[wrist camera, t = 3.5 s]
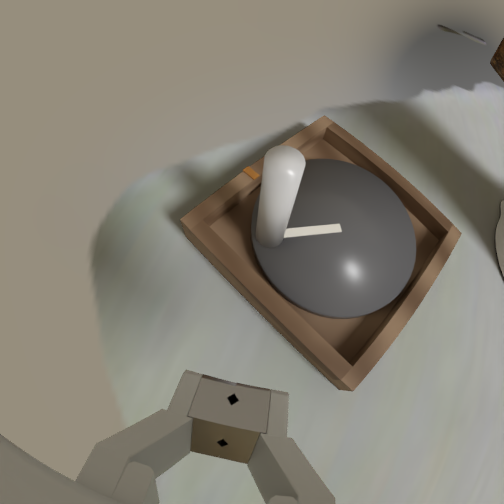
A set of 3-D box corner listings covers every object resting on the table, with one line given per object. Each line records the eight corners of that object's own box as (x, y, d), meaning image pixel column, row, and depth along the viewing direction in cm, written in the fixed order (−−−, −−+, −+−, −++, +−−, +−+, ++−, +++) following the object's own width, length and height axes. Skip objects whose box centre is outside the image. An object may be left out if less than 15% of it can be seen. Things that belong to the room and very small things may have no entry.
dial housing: (318, 135, 35) (324, 114, 32) (444, 246, 30) (462, 232, 27) (185, 236, 29) (179, 218, 26) (339, 389, 24) (353, 391, 21)
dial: (382, 164, 32) (422, 92, 21) (428, 301, 26) (506, 259, 16) (240, 170, 30) (242, 81, 20) (265, 332, 24) (284, 301, 14)
